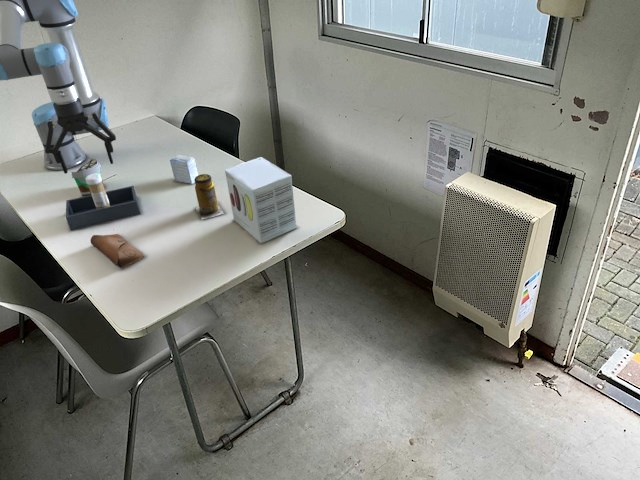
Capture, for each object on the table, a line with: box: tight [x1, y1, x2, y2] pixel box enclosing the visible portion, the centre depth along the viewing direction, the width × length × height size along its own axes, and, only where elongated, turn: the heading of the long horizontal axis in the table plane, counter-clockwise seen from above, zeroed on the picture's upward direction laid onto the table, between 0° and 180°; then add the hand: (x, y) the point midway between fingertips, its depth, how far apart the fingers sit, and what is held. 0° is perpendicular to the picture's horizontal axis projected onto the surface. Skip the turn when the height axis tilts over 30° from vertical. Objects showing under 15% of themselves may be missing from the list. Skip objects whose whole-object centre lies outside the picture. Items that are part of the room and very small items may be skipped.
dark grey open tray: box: [65, 185, 141, 231], centre depth 168 cm, size 12×22×5 cm, turn 112°
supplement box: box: [224, 156, 298, 244], centre depth 152 cm, size 17×13×18 cm
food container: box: [71, 157, 105, 197], centre depth 180 cm, size 12×6×10 cm, turn 168°
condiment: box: [194, 173, 225, 220], centre depth 163 cm, size 7×8×12 cm
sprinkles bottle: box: [85, 174, 110, 209], centre depth 165 cm, size 5×5×13 cm
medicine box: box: [169, 154, 199, 185], centre depth 183 cm, size 8×4×9 cm, turn 65°
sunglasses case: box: [90, 233, 145, 269], centre depth 149 cm, size 18×7×7 cm
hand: (89, 167), depth 159 cm, fingers open, 13 cm apart
